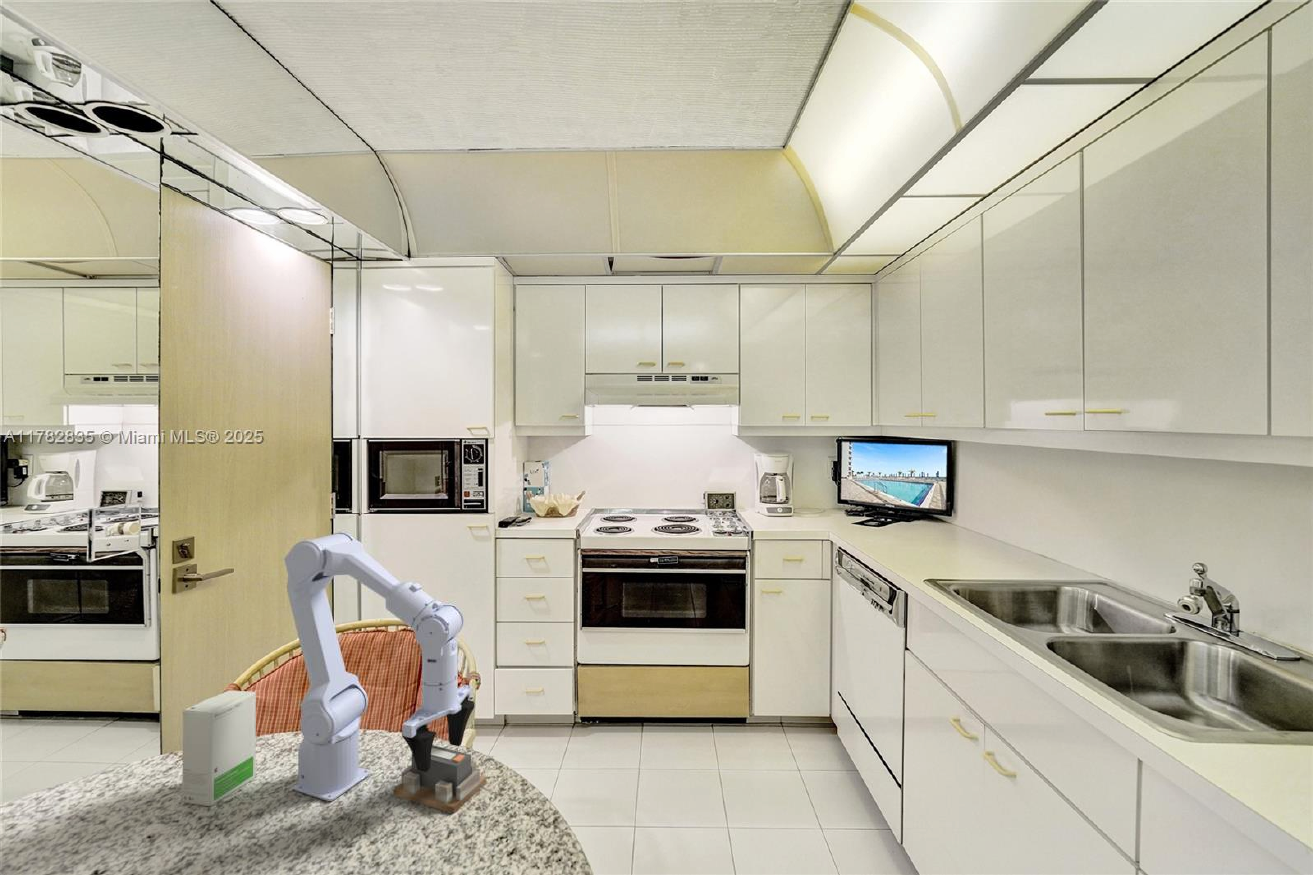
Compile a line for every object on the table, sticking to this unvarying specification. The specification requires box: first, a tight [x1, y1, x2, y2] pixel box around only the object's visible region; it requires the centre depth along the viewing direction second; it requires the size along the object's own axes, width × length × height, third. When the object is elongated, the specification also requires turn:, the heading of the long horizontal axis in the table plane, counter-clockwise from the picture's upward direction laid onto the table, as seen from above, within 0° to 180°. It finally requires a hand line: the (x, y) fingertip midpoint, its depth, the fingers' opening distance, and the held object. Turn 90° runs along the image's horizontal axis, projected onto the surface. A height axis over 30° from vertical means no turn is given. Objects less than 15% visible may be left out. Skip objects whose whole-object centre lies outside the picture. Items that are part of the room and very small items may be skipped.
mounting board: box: [393, 760, 487, 814], centre depth 89 cm, size 13×8×4 cm, turn 70°
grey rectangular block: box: [411, 744, 472, 796], centre depth 89 cm, size 10×3×5 cm, turn 70°
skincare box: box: [181, 690, 257, 807], centre depth 90 cm, size 8×7×16 cm
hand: (439, 756), depth 89 cm, fingers open, 7 cm apart
